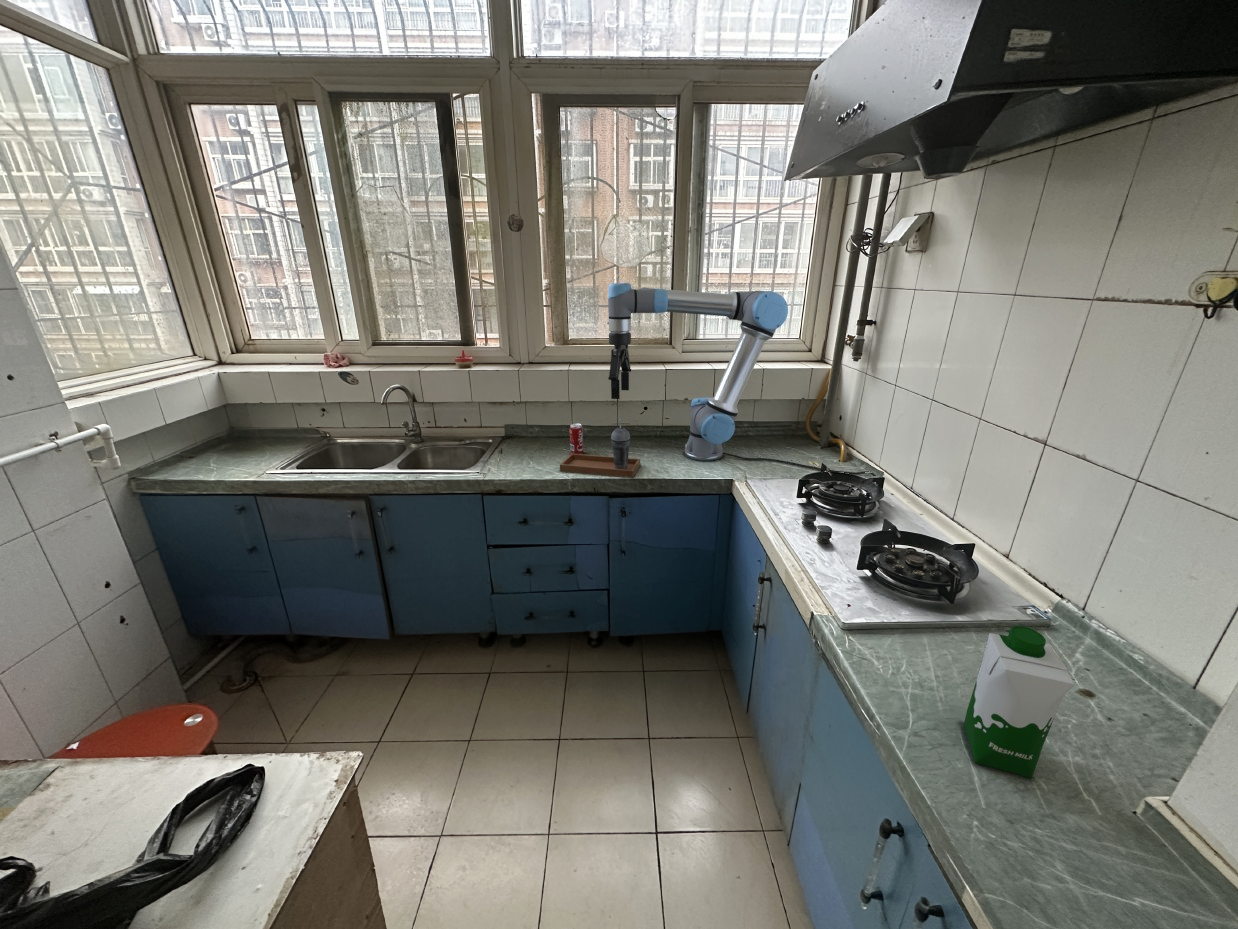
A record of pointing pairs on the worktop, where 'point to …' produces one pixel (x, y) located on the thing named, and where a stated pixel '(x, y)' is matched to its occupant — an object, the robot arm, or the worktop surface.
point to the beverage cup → (620, 447)
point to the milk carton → (1015, 700)
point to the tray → (598, 465)
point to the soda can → (576, 439)
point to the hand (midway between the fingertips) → (620, 394)
